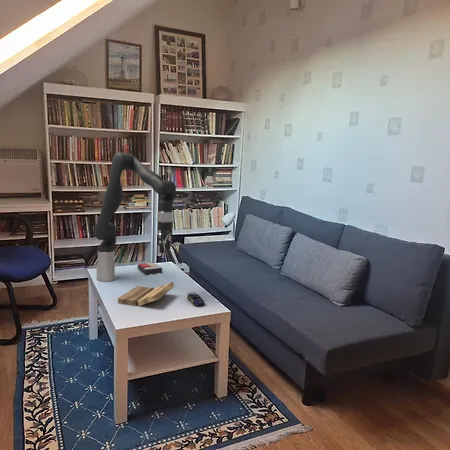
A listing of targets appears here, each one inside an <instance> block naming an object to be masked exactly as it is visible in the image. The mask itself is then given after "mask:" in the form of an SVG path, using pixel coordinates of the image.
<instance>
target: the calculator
mask: <svg viewBox="0 0 450 450" xmlns="http://www.w3.org/2000/svg"><path fill="white" fill-rule="evenodd" d="M138 269H139V270H138ZM137 270H138V271H139V272H141V273H142V272H143V273H144V274H145V275H144V274H143V273H142V274H143V275H144V276H150V274H152V275H158V274H157V273H160V274H163V267H161V266H159V264H156V263H155V262H146V263H138V264H137Z"/></svg>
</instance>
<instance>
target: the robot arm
mask: <svg viewBox="0 0 450 450" xmlns="http://www.w3.org/2000/svg"><path fill="white" fill-rule="evenodd" d="M123 171H131V172H134V173H136V174H137V175H138V177H139V179H140V180H141V181H142V182H143V183H145V184H146V185H148V186H150V188H151V189H153V191H154V192H155V193H157V194H158V195H161V196H163V197H162V199H160V200H159V201H158V214H157V229H158V230H159V231H160V233H159V232H158V233H157V240H156V245H157V246H159V247H158V248H159V252H158V253H160V254H164V253H165V249H166V250H171V242H172V241H173V228H174V225H173V224H174V212H173V204H174V201H175V197H176V191H177V187H176V183H175V182H174V181H173V180H162V177H161V176H160V175H159V174H158V173H156V172H155V171H153V170H152V169H150V168H148V167H147V166H145V165H144V164H143V163H142V162H141V161H139V159H137V158H136V157H135V155H133V154H132V153H129V152H121V151H120V152H116V153H115V154H114V155H113V157H112V160H111V165H110V172H109V179H108V182H107V188H106V189H105V194H104V197H103V198H104V199H103V202H102V206H101V210H100V213H99V216H98V219H97V221H96V223H95V226H94V229H93V232H94V236H95V238H96V239H97V240H98V241H101V243H99V244H98V245H97V263H96V265H95V266H96V267H95V268H96V280H97V281H99V282H102V283H103V282H104V283H105V282H112V281H114V280H115V278H116V275H115V274H116V272H115V271H116V269H115V266H116V265H115V262H116V261H115V260H116V259H115V256H116V254H115V247H116V244H117V228H116V225H115V224H114V223H113V222H110V221H111V220H112V217H113V216H114V215H115V214H116V212H117V211H118V209H119V208H120V206H121V204H122V201H123V200H122V199H123V196H124V190H123V187H122V183H121V179H122V174H123Z"/></svg>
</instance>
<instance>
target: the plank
mask: <svg viewBox="0 0 450 450" xmlns="http://www.w3.org/2000/svg"><path fill="white" fill-rule="evenodd" d="M174 287H175V284H174V282H170V283H169V282H168V283H166V284H164V285H161V286H158V287H154V289H153V290H152V291H151V292H149V293H148V294H146V295H145V296H144V297H142V298H141V299H139V300H138V301H137V302H138V306H143V305H146V304H149V303H152V302H154V301H158V300H159V299H161V298H162V297H164V296H165V295H166V294H167V293H168V292H170V291H171V290H172V289H173V288H174Z"/></svg>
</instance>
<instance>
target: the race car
mask: <svg viewBox="0 0 450 450" xmlns="http://www.w3.org/2000/svg"><path fill="white" fill-rule="evenodd" d="M186 298H187V301H188V302H190V303H191V304H192V305H193V307H197V308H199V307H200V308H201V307H204V306H205V304H206V303H205V300H203V297H201V296H200V294H198V293H196V292H193V291H192V292H191V293H190V292H188V293H187V297H186Z"/></svg>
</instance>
